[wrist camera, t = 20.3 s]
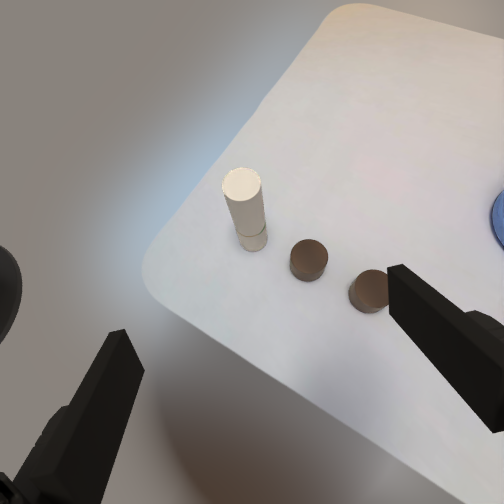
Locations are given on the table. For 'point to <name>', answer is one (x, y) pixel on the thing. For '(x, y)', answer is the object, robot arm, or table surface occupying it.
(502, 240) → the water jug
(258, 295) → the table surface
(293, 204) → the table surface
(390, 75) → the table surface
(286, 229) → the table surface
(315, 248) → the disc
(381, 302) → the brown short cylinder
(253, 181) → the tube
